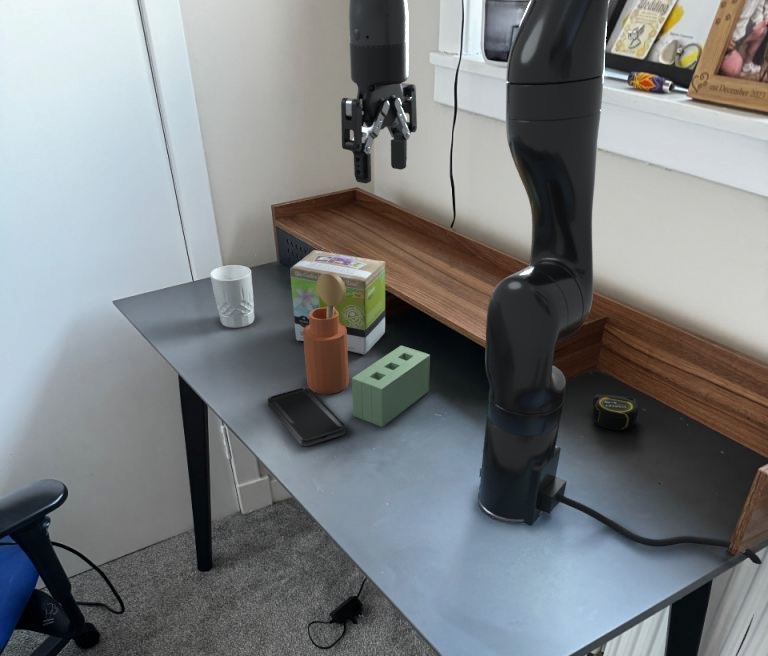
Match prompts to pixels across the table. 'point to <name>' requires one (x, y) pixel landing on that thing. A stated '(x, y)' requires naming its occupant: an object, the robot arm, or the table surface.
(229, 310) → the white cup
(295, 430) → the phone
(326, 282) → the tan flat rounded part
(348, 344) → the tea box
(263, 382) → the table surface
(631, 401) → the tape measure
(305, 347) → the bottle
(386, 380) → the holder
